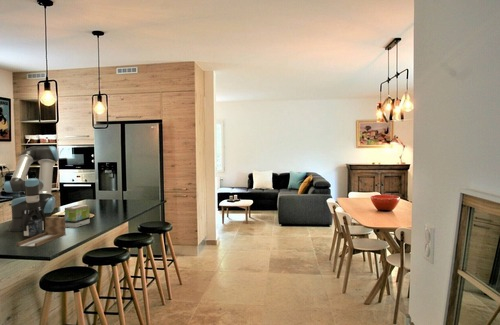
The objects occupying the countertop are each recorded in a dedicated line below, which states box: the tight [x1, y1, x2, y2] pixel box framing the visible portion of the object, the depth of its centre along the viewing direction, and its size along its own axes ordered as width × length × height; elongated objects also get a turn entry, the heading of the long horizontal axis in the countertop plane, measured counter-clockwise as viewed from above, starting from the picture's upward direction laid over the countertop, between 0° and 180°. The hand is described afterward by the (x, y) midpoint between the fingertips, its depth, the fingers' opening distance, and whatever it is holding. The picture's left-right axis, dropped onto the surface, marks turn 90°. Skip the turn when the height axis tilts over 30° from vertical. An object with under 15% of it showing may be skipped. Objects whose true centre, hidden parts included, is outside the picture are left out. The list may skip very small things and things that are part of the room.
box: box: [25, 218, 43, 238], centre depth 215 cm, size 8×6×11 cm
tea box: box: [64, 204, 91, 229], centre depth 243 cm, size 15×10×15 cm
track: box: [16, 216, 66, 248], centre depth 205 cm, size 13×26×12 cm, turn 175°
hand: (34, 232), depth 215 cm, fingers open, 13 cm apart
